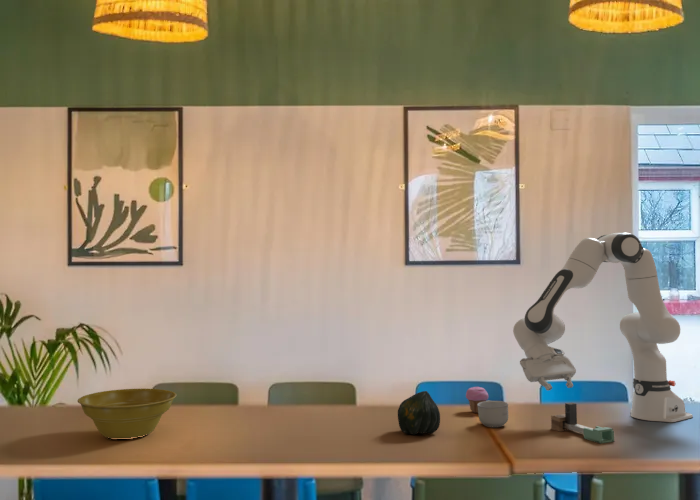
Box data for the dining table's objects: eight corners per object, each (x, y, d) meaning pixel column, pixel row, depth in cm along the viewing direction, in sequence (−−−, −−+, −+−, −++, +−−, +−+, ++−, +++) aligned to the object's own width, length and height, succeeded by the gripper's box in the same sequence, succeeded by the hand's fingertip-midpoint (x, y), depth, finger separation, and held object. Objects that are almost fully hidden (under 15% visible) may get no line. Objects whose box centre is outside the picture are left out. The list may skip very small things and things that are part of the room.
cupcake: (490, 414, 246) (490, 388, 247) (468, 414, 246) (467, 388, 247) (486, 409, 255) (485, 384, 255) (464, 409, 255) (464, 384, 256)
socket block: (567, 426, 225) (566, 413, 225) (575, 429, 221) (574, 416, 222) (551, 428, 222) (551, 415, 223) (559, 431, 219) (559, 418, 219)
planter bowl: (194, 434, 219) (194, 395, 220) (104, 454, 196) (105, 410, 196) (146, 420, 241) (147, 384, 242) (60, 436, 218) (61, 397, 218)
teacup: (509, 429, 222) (508, 406, 222) (477, 428, 224) (477, 405, 224) (507, 420, 235) (507, 399, 236) (477, 419, 237) (477, 398, 238)
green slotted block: (597, 436, 211) (597, 424, 211) (614, 441, 205) (613, 428, 205) (583, 438, 209) (583, 426, 209) (599, 443, 202) (599, 430, 203)
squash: (382, 416, 220) (405, 386, 214) (409, 411, 231) (431, 382, 225) (406, 449, 212) (431, 419, 206) (432, 442, 223) (457, 414, 217)
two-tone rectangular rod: (565, 425, 223) (564, 400, 224) (597, 435, 209) (596, 408, 210) (558, 426, 222) (557, 401, 222) (590, 436, 208) (589, 409, 209)
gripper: (521, 353, 227) (541, 385, 218) (566, 349, 235) (586, 380, 226) (514, 364, 231) (532, 396, 222) (558, 360, 239) (578, 390, 230)
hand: (560, 388), depth 224 cm, fingers open, 8 cm apart
